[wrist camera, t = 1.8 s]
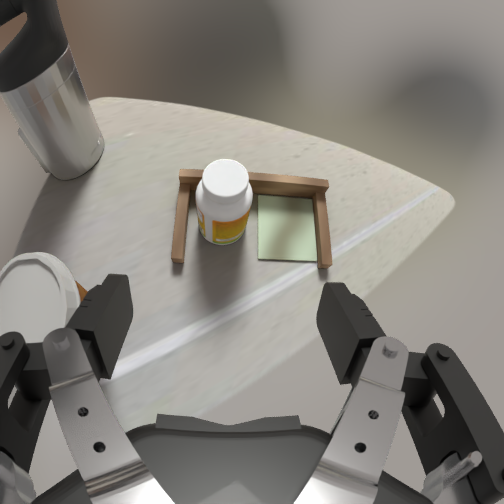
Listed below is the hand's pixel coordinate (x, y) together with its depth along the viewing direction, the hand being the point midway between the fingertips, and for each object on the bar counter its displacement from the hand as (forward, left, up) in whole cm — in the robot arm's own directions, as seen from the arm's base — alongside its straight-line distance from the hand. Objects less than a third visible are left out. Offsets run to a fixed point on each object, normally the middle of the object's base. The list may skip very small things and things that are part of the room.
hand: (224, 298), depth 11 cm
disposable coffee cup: (-15, -1, -19) cm, 24 cm away
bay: (+3, +12, -19) cm, 22 cm away
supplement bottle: (0, +12, -19) cm, 22 cm away
